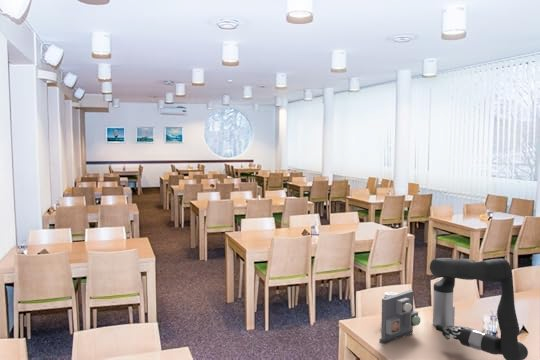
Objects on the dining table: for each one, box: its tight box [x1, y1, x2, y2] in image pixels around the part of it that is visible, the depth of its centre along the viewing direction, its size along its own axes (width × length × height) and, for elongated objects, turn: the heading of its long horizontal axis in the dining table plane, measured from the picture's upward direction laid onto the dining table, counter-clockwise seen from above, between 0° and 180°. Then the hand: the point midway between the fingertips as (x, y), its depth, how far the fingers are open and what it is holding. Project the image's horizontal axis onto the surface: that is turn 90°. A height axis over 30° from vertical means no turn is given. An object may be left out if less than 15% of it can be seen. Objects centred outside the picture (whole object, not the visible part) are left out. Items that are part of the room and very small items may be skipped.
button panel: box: [379, 290, 419, 345], centre depth 220 cm, size 6×21×20 cm, turn 129°
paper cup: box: [383, 291, 399, 299], centre depth 243 cm, size 8×8×14 cm
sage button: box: [411, 315, 421, 326], centre depth 222 cm, size 2×4×4 cm, turn 129°
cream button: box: [402, 302, 412, 313], centre depth 217 cm, size 2×4×4 cm, turn 129°
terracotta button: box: [392, 322, 399, 331], centre depth 215 cm, size 2×4×4 cm, turn 129°
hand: (436, 326), depth 214 cm, fingers closed
